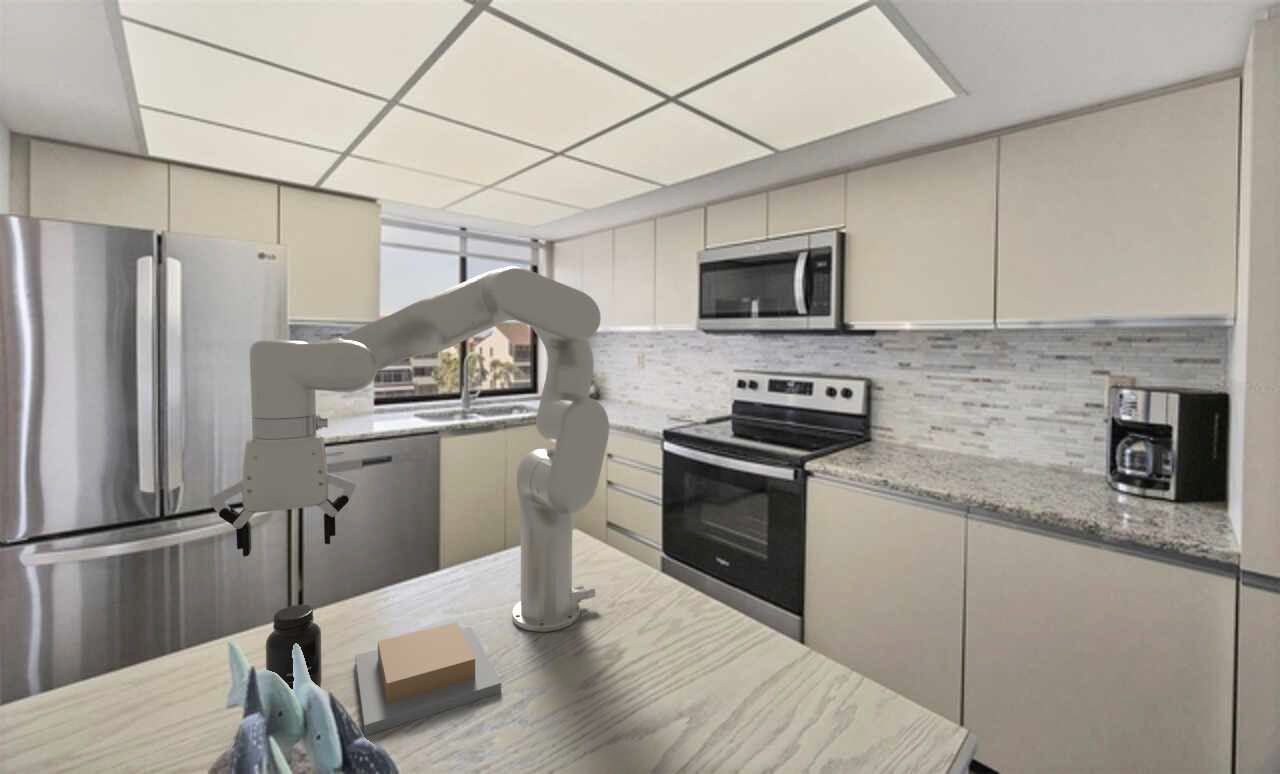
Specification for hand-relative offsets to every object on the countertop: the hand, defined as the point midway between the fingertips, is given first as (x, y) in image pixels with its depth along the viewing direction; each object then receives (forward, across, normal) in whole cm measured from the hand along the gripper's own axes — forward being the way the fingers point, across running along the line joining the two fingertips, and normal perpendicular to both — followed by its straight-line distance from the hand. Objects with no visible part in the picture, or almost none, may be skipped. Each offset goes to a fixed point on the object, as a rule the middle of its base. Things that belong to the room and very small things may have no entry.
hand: (288, 546), depth 78 cm
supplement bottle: (+22, 0, 0) cm, 22 cm away
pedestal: (+22, -17, +6) cm, 28 cm away
